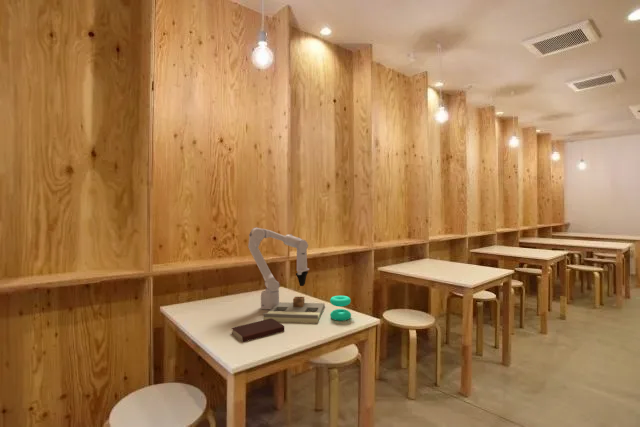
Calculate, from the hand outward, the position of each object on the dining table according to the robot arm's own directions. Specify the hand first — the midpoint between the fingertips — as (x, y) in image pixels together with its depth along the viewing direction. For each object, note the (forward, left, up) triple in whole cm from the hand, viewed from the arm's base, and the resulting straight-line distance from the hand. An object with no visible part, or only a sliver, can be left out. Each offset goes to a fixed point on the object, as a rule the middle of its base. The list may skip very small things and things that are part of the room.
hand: (302, 285), depth 187 cm
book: (-11, -44, -11) cm, 47 cm away
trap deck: (0, -18, -10) cm, 20 cm away
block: (0, -10, -8) cm, 13 cm away
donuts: (+23, -22, -11) cm, 34 cm away
